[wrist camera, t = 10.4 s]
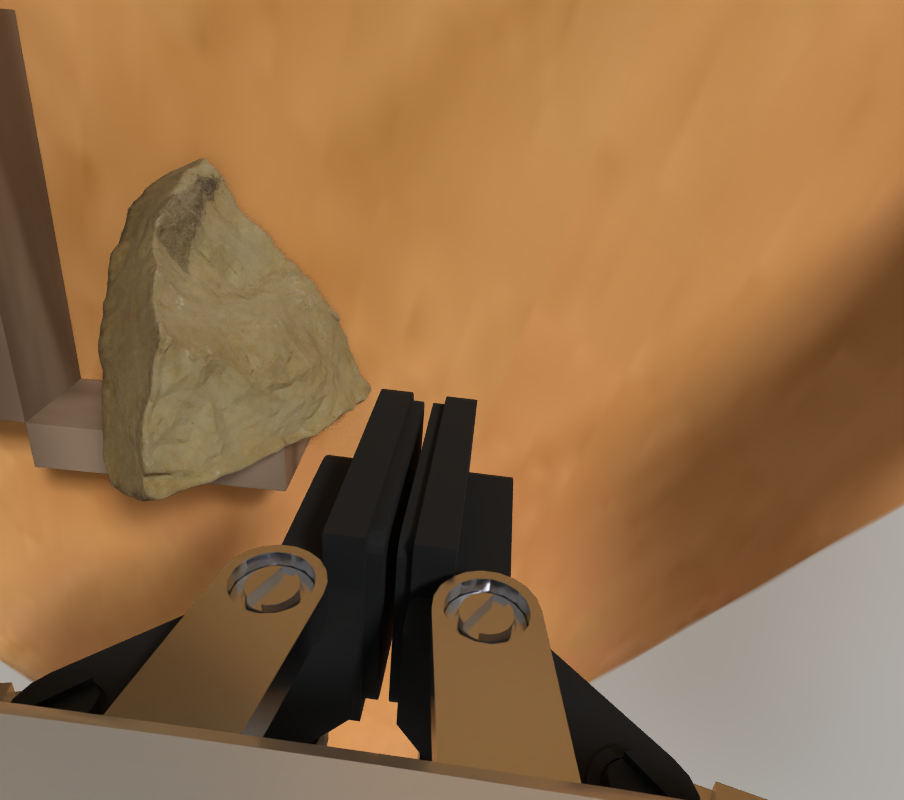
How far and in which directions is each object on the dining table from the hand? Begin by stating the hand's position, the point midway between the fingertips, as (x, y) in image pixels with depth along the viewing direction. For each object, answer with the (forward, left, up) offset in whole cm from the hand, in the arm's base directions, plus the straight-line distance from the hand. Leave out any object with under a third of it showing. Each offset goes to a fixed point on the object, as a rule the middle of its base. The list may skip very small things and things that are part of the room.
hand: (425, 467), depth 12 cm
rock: (+8, +3, -16) cm, 18 cm away
